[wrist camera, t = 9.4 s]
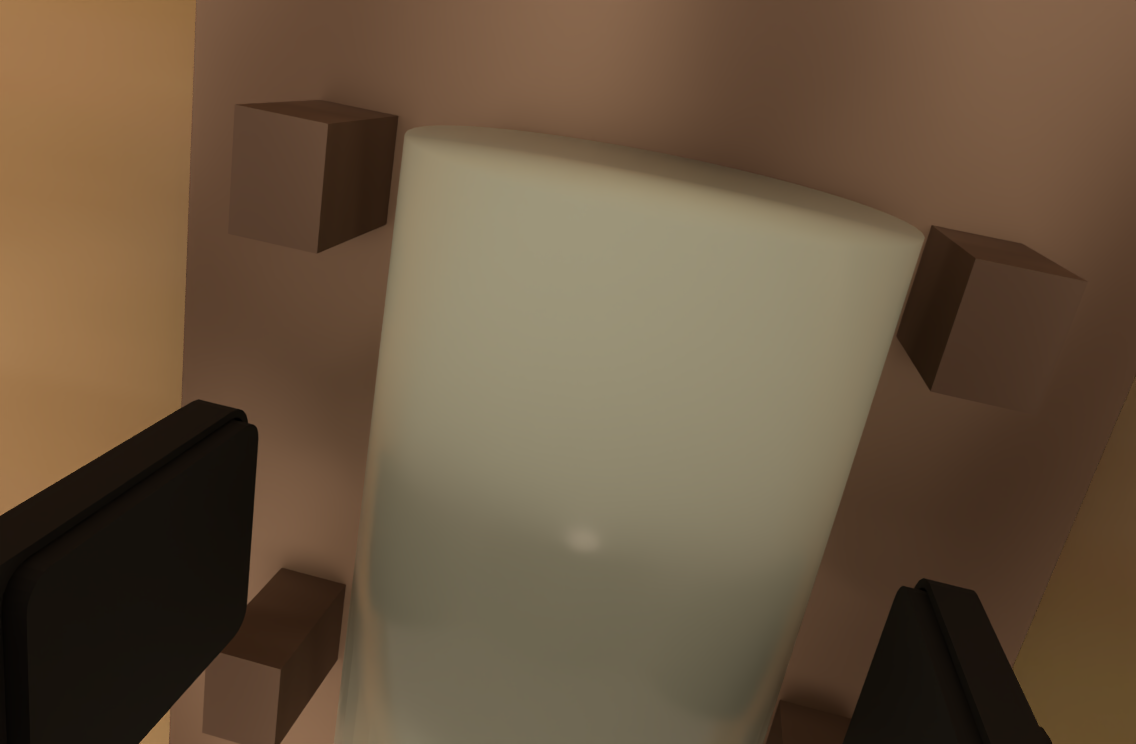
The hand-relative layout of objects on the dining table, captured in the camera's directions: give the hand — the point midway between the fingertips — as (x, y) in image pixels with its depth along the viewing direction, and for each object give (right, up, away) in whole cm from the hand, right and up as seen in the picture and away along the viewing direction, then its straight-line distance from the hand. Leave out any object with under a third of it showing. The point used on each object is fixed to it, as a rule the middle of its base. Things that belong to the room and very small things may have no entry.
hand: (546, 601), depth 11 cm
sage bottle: (0, 0, +4) cm, 4 cm away
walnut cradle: (+1, +1, +5) cm, 5 cm away
